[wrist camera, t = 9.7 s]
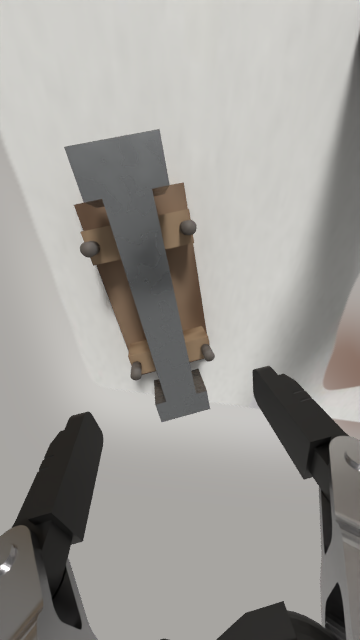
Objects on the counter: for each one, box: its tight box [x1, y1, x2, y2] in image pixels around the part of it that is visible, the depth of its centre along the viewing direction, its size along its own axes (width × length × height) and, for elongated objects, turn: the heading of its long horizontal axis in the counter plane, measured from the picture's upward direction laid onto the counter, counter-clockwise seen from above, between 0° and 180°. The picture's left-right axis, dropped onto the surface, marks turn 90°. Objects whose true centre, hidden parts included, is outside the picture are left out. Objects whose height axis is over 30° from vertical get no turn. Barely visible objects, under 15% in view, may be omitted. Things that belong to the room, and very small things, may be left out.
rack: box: [74, 183, 215, 380], centre depth 23 cm, size 11×22×6 cm, turn 11°
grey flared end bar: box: [64, 129, 210, 422], centre depth 20 cm, size 6×26×4 cm, turn 11°
